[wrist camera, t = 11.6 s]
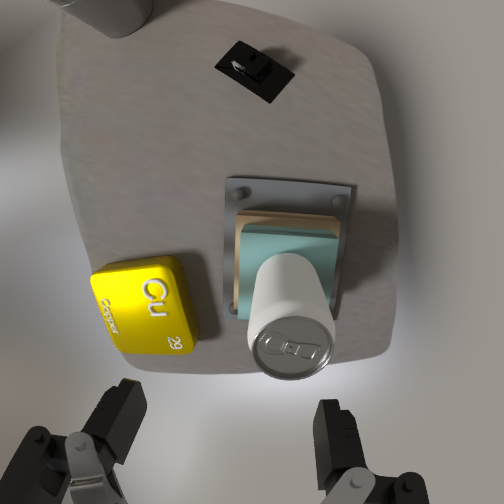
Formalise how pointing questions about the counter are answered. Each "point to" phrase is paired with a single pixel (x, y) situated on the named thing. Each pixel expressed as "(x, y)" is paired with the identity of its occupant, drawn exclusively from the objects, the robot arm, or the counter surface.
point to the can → (290, 319)
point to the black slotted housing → (255, 71)
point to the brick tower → (281, 234)
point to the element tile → (146, 306)
